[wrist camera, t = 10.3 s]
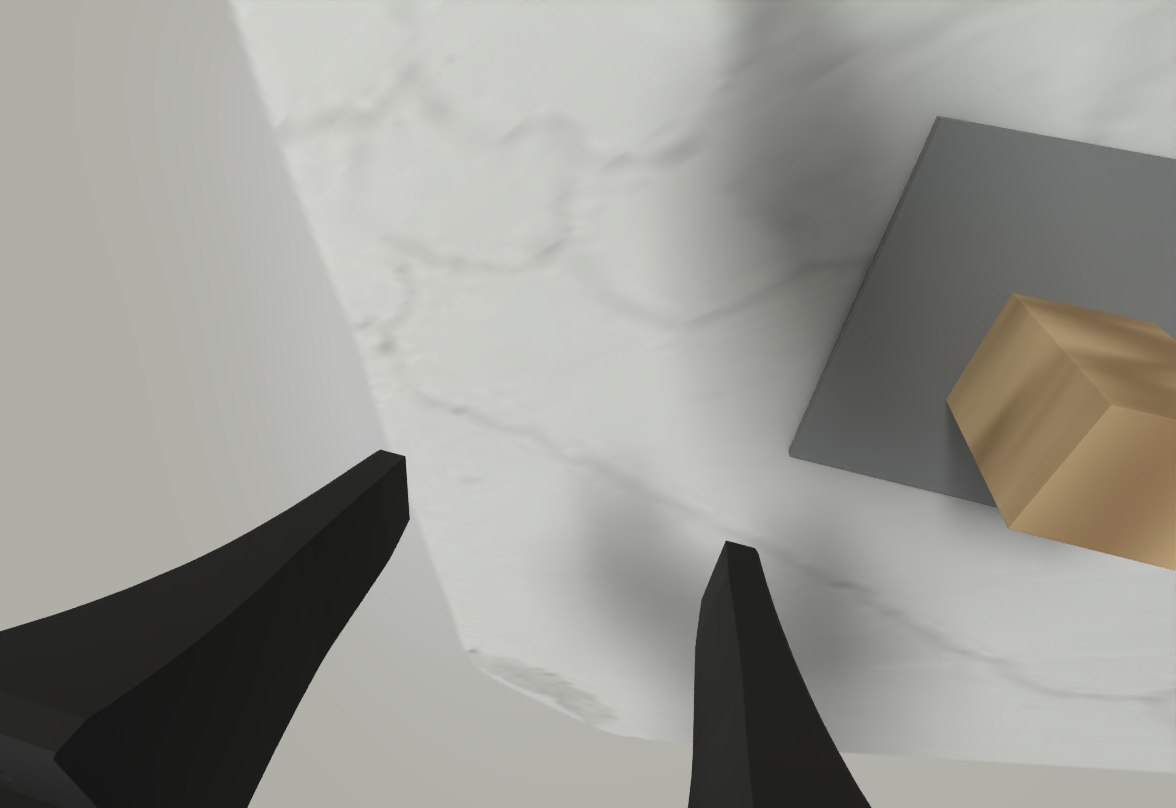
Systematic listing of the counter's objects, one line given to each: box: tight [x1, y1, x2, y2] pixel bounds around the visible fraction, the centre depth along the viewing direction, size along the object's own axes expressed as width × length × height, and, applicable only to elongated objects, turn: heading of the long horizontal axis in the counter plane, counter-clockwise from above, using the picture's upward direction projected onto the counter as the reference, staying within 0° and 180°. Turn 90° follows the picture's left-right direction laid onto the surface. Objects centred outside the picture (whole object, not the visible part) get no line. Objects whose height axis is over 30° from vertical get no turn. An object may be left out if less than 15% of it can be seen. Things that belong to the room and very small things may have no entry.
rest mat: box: [789, 116, 1176, 508], centre depth 19 cm, size 12×12×1 cm
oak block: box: [946, 293, 1176, 570], centre depth 16 cm, size 4×4×6 cm
